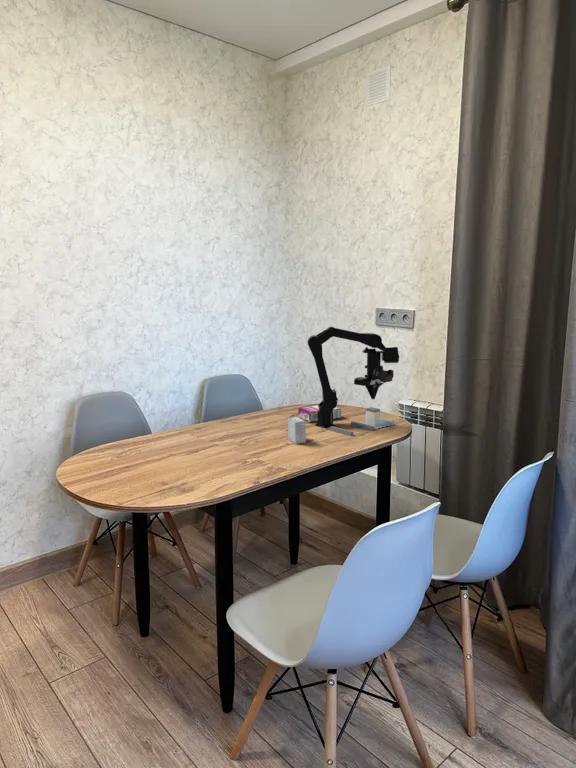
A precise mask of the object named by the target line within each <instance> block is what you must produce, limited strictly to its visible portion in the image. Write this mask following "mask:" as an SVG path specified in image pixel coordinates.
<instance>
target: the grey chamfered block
mask: <svg viewBox="0 0 576 768" xmlns="http://www.w3.org/2000/svg"><path fill="white" fill-rule="evenodd" d="M380 419H381V408H377V407H373V406H370V407H367V408H365V421H366V422H365V424H367V425H371V426H377V425H380Z"/></svg>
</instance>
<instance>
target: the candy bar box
mask: <svg viewBox="0 0 576 768" xmlns="http://www.w3.org/2000/svg"><path fill="white" fill-rule="evenodd" d="M318 412H319V408H318V405H312V406H302V407H298V411H297V413H298V415H297V417H298V418H300V419H302V420H304V421H305V422H309V423H314V422H318ZM341 414H342V409H341V408H340V407H338V406H336V407H335V408H334V409H333V420H337V419H341V417H342V415H341Z"/></svg>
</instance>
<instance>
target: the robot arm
mask: <svg viewBox="0 0 576 768" xmlns="http://www.w3.org/2000/svg"><path fill="white" fill-rule="evenodd" d="M333 337H334V338H337V339H343V340H348V341H352V342H358V343H361V344H363V345H365V348H363V350H362V353H364V354H366V365H364V369H366V374H364V376H359V377H354V380H353V384H354V385H355V386H356V385H357V386H362V387H365V388H366V390H367V392H368V395H369V396H370V398H371V400H375V399H376V396H377V394H378V391H379V388H380V387H381V386H383V385H384V384H385V383H390V382H393V379H394V370H393V369H388V370H385V369H384V366H383V365H381V363H382V362H383V363H384V364H398V363H399V361H400V354H399V348H398V347H397V346H391V347H386V346H385V345H384V344H383V339H382V337H381V335H379V334H377V333H374V332H370V333H369V332H356V331H352V330H351V331H350V330H346V329H344V328H338V327H334V326H328V327H327V328H325V330H322V331H321V332H320V333H318V334H316V335H315V334H314V335H311V336H309V337H308V339H307V342H306V343H307V346H308V348H309V350H310V352H311V354H312V356H313V359H314V364H315V366H316V371H317V375H318V379H319V381H320V382H319V383H320V386H321V396H322V397H321V398H322V401H320V402H319V403H318V405H317V406H318V408H319V412H318V421H317V422H316V423H315V424H314V425H315V426H317V427H321V428H325V429H326V428H330V427H331V426H334V427H336V423H334V419H333V409H334V408H335V407H338V401H339V399H338V397H337V396H338V395H337V391H336V389H334V388H333V389H332V387H331V383H330V380H329V377H328V376H329V375H328V372H327V368H326V364H325V360H324V356H323V355H324V354H323V344H324V343H326V342H327V341H329V340H330V339H331V338H333ZM377 349H379V350H377Z"/></svg>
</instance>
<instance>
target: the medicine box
mask: <svg viewBox="0 0 576 768" xmlns="http://www.w3.org/2000/svg"><path fill="white" fill-rule="evenodd" d="M306 431H307V430H306V420H303V419H301V418H299V417H298V416H296V417H289V418H287V439H288V440H289V441H290V442H292V443H293V444H295V445H298V444H299V445H300V443H301V444H306V443H307V441H306V440H307V437H306V435H307V434H306V433H307V432H306Z"/></svg>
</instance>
